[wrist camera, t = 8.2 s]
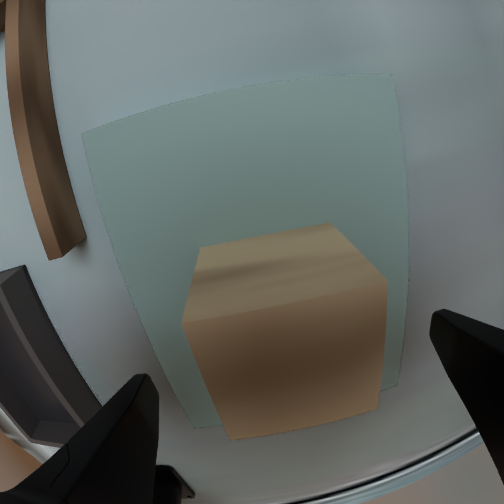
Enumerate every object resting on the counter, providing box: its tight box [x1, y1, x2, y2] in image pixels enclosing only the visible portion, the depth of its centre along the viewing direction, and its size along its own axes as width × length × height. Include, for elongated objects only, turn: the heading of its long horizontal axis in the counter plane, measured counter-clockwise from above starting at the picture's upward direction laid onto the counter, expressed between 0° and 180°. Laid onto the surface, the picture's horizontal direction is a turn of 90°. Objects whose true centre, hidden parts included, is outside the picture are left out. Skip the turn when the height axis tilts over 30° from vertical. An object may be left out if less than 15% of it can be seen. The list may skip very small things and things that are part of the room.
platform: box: [81, 74, 409, 428], centre depth 14 cm, size 16×12×2 cm
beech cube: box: [181, 222, 388, 441], centre depth 10 cm, size 5×5×5 cm
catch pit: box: [0, 265, 102, 448], centre depth 15 cm, size 13×8×2 cm, turn 11°
